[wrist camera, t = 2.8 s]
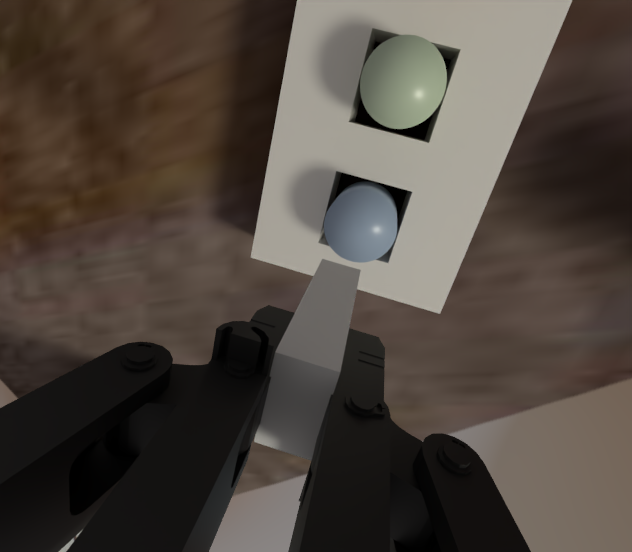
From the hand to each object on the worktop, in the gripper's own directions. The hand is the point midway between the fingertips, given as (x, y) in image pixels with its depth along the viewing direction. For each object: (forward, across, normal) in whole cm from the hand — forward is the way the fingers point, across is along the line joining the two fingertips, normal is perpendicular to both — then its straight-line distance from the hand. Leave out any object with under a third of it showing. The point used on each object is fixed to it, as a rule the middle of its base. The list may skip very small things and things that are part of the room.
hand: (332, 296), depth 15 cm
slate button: (+13, 0, 0) cm, 13 cm away
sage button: (+13, 0, +8) cm, 16 cm away
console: (+16, 0, +8) cm, 18 cm away
